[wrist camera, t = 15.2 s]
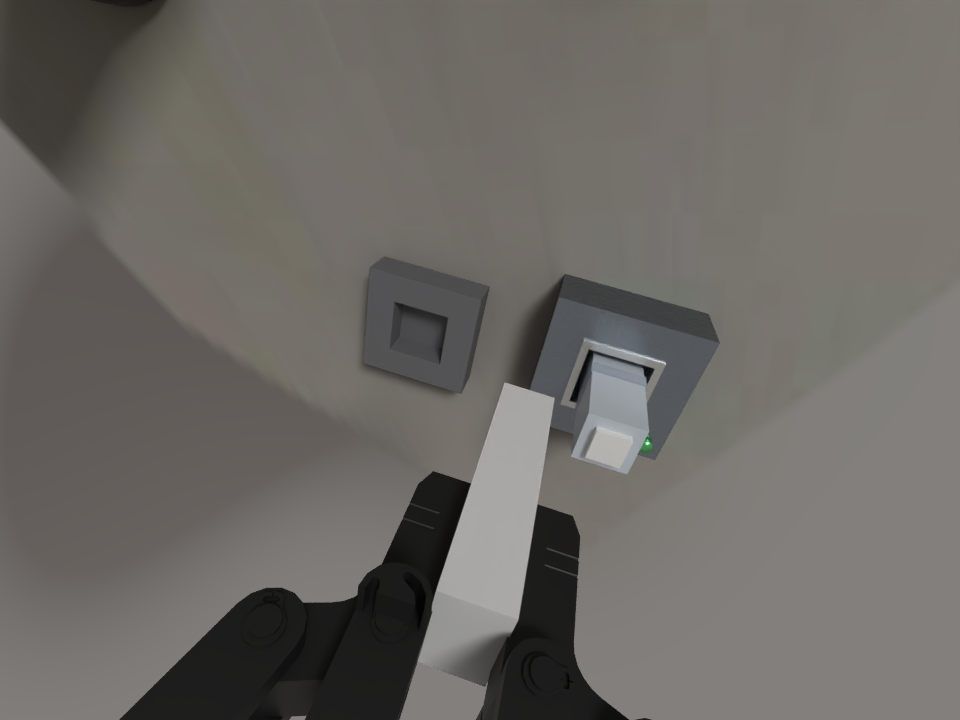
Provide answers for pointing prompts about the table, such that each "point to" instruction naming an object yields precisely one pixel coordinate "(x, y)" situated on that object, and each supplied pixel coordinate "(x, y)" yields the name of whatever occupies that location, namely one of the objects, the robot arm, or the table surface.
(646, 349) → the port
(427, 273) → the holster
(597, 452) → the plug
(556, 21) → the table surface
